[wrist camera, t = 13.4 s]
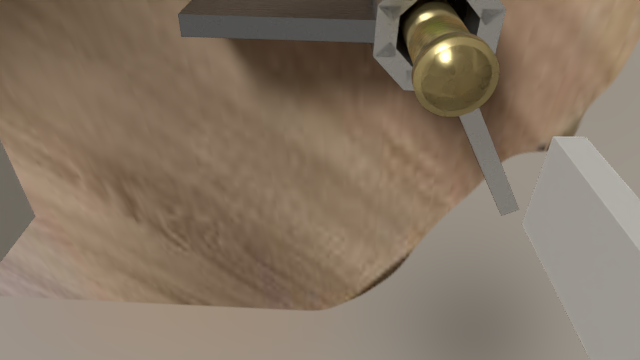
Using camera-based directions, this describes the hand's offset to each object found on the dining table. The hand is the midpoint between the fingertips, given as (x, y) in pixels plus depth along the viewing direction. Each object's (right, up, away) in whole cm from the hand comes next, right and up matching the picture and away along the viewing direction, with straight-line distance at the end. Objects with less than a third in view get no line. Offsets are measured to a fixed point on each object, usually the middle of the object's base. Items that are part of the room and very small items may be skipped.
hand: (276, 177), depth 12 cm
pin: (+9, +15, +28) cm, 33 cm away
